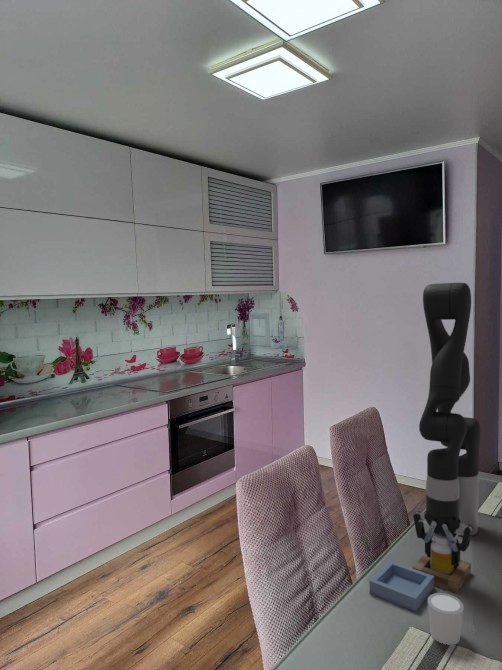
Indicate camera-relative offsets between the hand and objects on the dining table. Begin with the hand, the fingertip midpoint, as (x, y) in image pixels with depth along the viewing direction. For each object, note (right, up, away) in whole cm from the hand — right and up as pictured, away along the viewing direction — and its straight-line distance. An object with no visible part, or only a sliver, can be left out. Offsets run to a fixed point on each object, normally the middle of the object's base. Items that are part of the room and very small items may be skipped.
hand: (442, 559), depth 122 cm
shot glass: (-7, -6, -21) cm, 23 cm away
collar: (0, -4, 0) cm, 4 cm away
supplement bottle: (0, -4, 0) cm, 4 cm away
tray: (-12, -5, -6) cm, 14 cm away
